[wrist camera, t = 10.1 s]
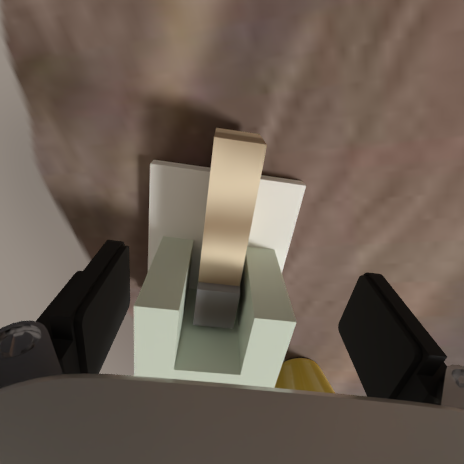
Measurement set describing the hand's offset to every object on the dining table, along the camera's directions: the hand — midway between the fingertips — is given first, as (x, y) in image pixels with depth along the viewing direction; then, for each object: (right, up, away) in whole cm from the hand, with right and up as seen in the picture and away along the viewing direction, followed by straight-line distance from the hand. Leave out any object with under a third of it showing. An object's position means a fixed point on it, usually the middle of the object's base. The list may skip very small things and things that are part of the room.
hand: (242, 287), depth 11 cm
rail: (-1, +4, +16) cm, 16 cm away
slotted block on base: (-2, +1, +18) cm, 19 cm away
